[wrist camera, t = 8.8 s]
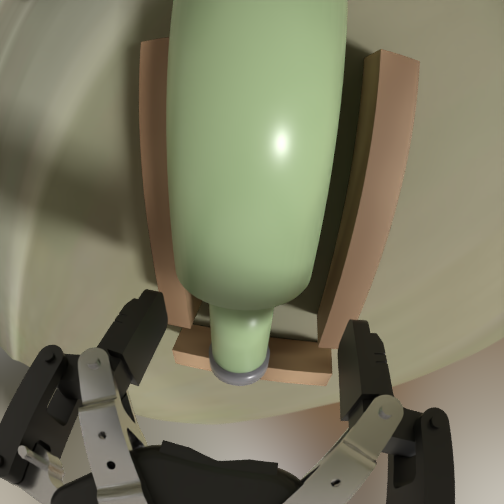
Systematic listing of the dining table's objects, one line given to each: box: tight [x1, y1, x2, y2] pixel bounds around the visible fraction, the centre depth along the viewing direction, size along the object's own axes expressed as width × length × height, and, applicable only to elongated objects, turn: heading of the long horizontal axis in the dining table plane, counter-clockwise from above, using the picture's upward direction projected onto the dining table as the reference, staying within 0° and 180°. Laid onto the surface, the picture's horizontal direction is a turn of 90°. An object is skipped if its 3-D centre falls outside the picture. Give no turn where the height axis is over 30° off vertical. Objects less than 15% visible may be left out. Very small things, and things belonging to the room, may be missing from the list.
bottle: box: [166, 0, 348, 386], centre depth 10 cm, size 6×6×18 cm
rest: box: [139, 37, 420, 386], centre depth 13 cm, size 10×18×2 cm, turn 176°
